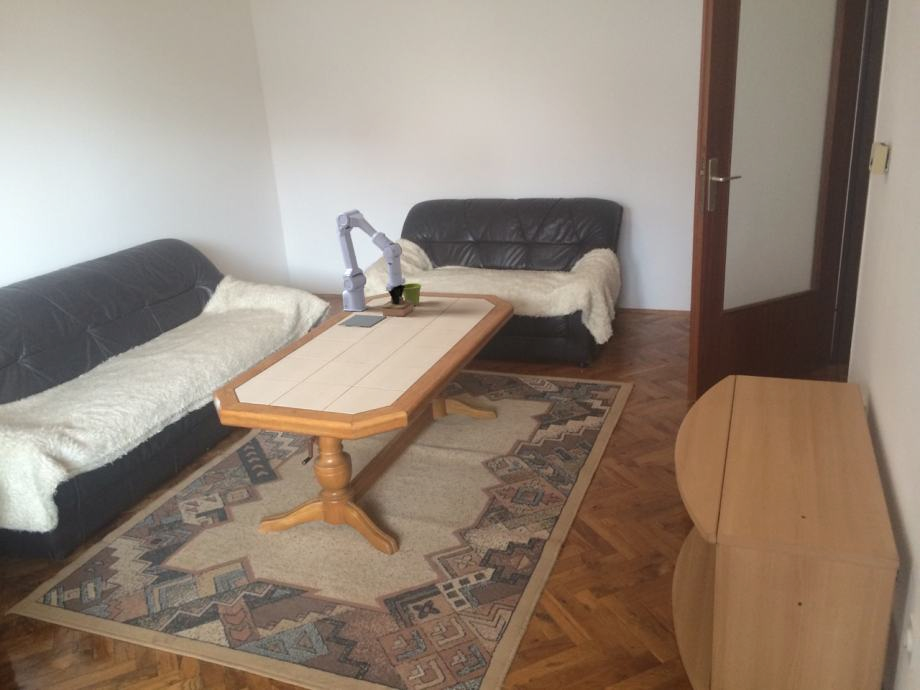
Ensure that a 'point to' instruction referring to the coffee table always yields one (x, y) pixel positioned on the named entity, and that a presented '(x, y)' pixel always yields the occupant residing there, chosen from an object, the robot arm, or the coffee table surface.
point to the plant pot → (412, 292)
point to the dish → (398, 311)
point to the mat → (363, 320)
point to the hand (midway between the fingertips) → (397, 302)
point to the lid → (401, 305)
